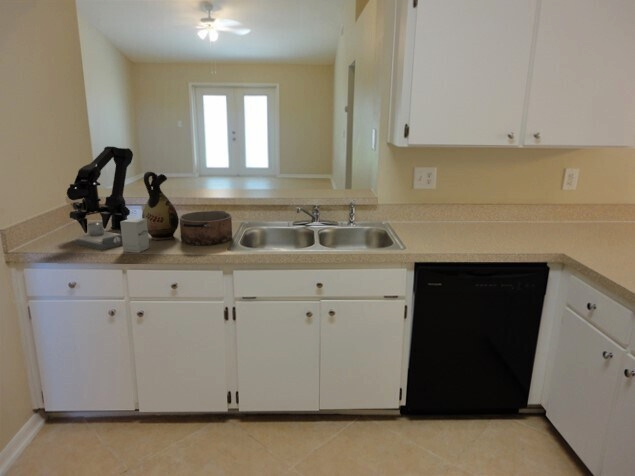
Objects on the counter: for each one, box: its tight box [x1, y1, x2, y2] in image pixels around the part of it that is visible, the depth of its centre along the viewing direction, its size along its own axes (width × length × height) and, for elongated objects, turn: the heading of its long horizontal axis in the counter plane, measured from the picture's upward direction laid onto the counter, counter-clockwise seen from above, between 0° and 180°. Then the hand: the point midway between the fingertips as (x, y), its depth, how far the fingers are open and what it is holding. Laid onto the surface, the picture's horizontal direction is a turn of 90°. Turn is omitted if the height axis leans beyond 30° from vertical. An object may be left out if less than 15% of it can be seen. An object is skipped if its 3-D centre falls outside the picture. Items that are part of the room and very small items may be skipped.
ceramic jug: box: [141, 171, 180, 241], centre depth 185 cm, size 17×15×30 cm
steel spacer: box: [87, 221, 105, 236], centre depth 181 cm, size 6×6×5 cm
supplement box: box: [120, 217, 150, 254], centre depth 169 cm, size 7×7×13 cm
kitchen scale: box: [75, 230, 123, 251], centre depth 179 cm, size 14×17×4 cm
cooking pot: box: [178, 210, 233, 247], centre depth 187 cm, size 30×22×11 cm
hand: (95, 230), depth 191 cm, fingers open, 9 cm apart
